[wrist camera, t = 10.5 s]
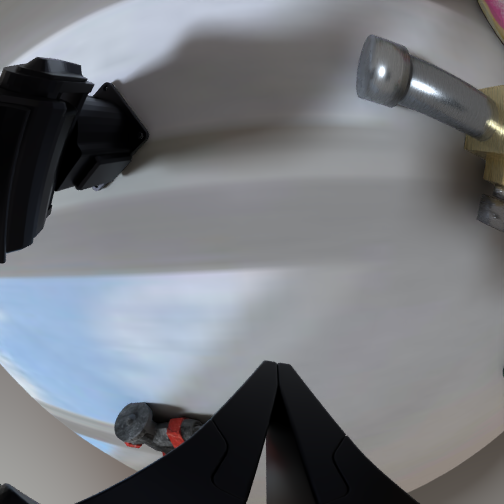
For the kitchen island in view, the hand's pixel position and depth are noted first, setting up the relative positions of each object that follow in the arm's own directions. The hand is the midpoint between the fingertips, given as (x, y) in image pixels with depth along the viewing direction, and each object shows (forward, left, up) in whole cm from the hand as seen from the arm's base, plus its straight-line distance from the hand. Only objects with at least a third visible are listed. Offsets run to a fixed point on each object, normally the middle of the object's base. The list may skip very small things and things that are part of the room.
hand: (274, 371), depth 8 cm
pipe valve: (0, +17, -12) cm, 20 cm away
